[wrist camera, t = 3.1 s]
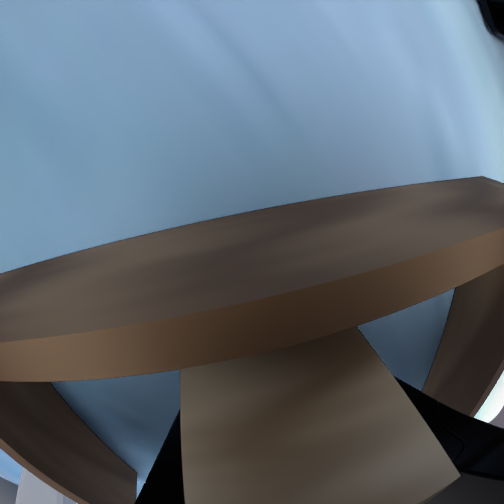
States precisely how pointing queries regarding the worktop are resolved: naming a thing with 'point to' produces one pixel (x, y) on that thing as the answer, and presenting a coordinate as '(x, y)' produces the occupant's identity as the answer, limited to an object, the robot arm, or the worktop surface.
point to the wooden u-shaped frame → (244, 308)
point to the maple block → (306, 430)
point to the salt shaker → (38, 491)
